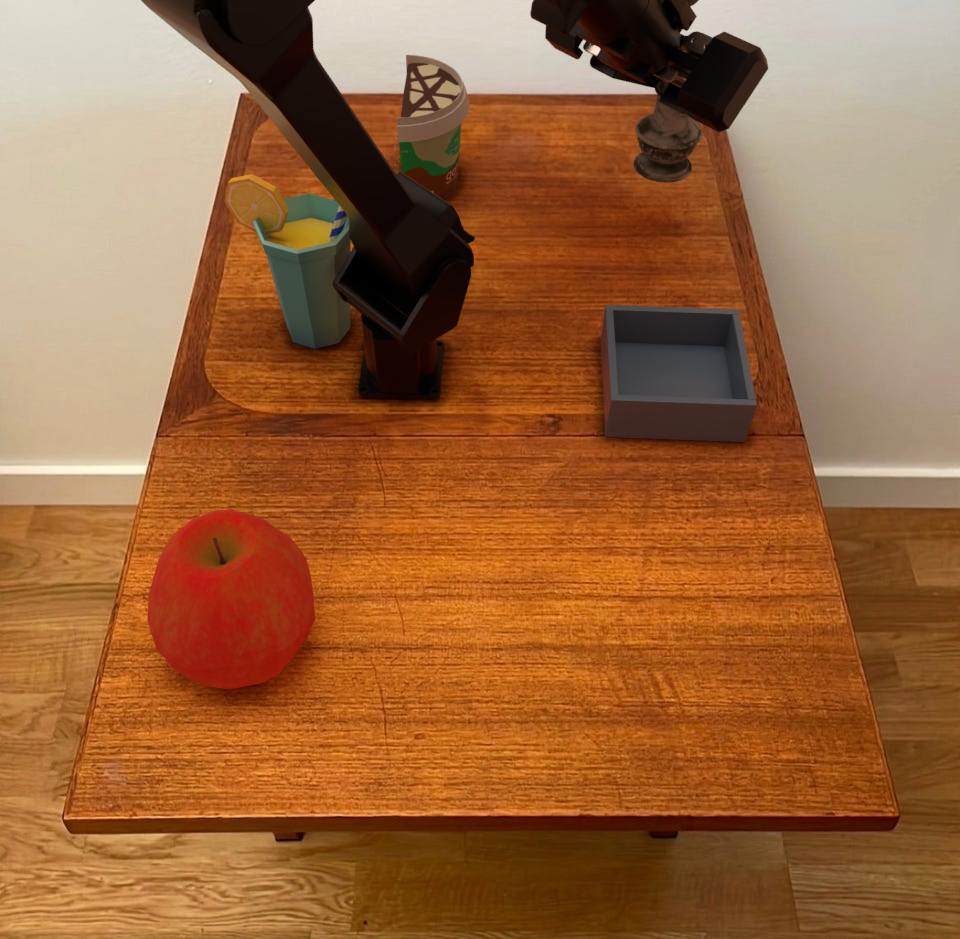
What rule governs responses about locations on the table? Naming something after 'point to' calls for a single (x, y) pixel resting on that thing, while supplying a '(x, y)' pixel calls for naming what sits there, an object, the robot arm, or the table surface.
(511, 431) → the table surface
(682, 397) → the grey open tray box
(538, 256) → the table surface
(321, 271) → the cup
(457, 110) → the food container
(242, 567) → the apple
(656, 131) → the grey stone upright piece
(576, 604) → the table surface
